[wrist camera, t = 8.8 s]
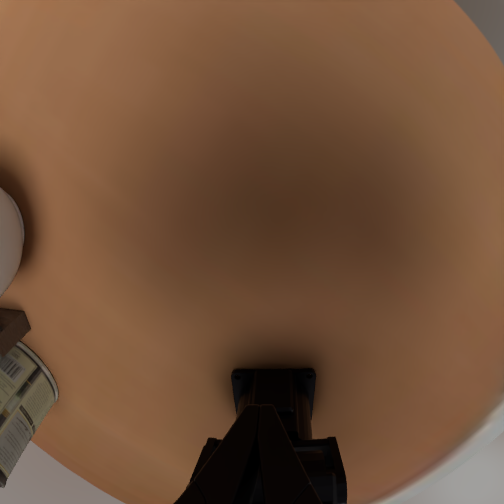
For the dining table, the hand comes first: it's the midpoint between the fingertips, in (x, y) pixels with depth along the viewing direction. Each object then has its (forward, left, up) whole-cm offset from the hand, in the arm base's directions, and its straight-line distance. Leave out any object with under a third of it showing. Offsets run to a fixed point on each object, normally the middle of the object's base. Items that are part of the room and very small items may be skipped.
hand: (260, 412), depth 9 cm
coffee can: (-13, +28, -12) cm, 33 cm away
